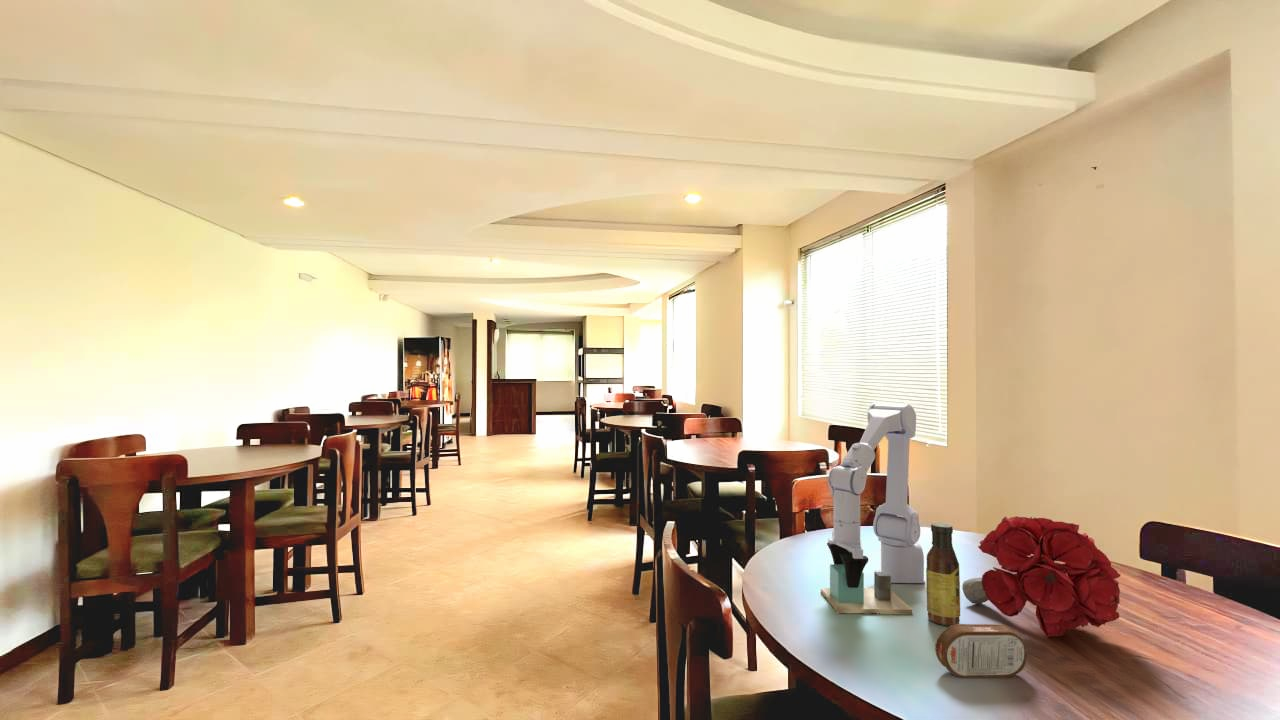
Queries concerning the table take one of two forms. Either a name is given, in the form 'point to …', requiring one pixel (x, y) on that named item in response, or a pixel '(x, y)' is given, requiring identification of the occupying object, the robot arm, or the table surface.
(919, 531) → the robot arm
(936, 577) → the sauce bottle
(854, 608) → the birch board
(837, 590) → the pale aqua cube
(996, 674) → the tin
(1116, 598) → the bouquet
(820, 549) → the table surface
